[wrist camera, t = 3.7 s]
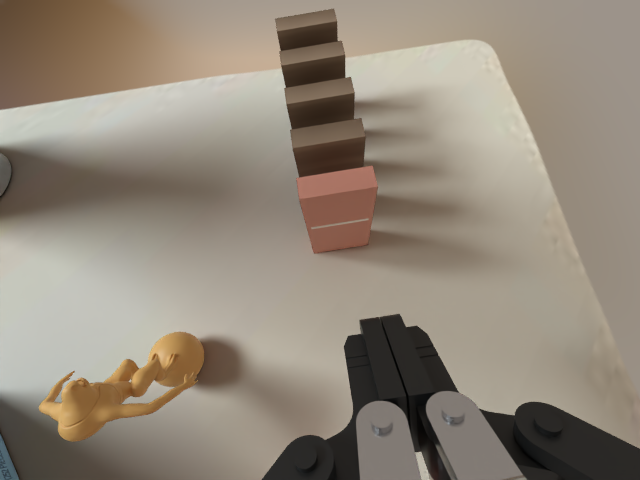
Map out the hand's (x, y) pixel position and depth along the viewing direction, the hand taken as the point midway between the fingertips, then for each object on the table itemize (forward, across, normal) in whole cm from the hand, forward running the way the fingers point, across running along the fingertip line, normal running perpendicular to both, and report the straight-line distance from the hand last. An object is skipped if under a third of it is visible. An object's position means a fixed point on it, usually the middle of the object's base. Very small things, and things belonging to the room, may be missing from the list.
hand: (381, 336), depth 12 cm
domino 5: (+18, 0, -4) cm, 18 cm away
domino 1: (+29, 0, +8) cm, 30 cm away
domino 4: (+20, 0, -1) cm, 21 cm away
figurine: (+11, -14, -10) cm, 21 cm away
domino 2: (+26, 0, +5) cm, 27 cm away
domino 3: (+23, 0, +2) cm, 24 cm away
